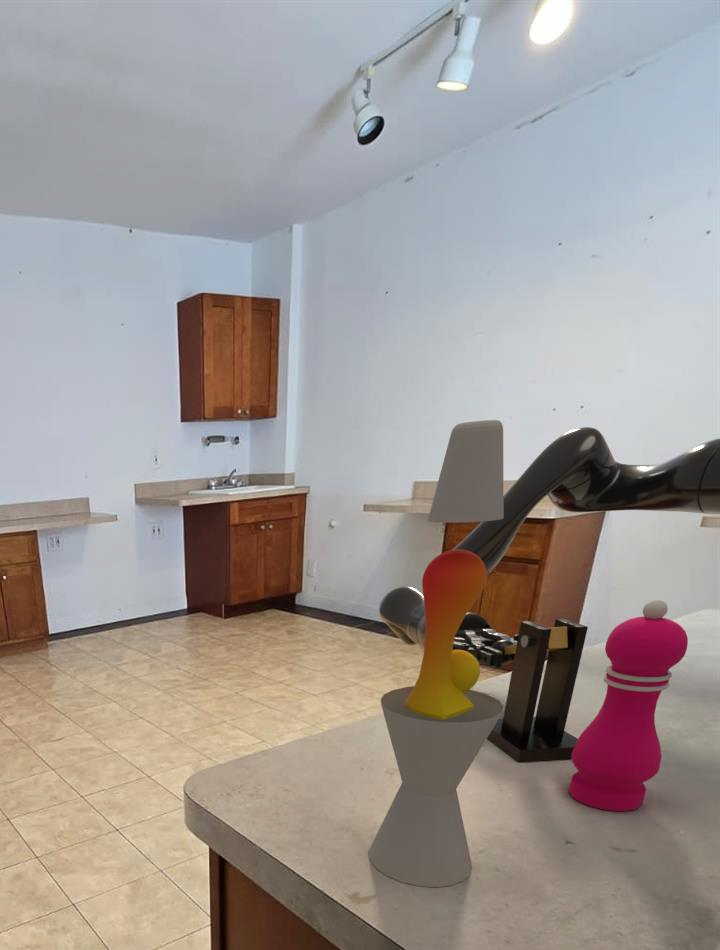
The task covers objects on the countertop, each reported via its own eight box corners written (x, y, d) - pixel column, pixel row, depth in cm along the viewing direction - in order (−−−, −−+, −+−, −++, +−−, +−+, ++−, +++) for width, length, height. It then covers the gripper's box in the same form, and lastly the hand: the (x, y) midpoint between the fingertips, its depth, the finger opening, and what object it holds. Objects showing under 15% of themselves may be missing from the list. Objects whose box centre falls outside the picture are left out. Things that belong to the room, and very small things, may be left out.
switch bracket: (476, 731, 83) (495, 617, 77) (538, 727, 83) (562, 612, 77) (518, 762, 74) (543, 636, 68) (587, 758, 74) (619, 631, 68)
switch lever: (484, 666, 85) (483, 642, 85) (508, 665, 85) (507, 641, 84) (544, 652, 72) (543, 624, 72) (573, 650, 72) (571, 622, 71)
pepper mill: (658, 818, 61) (725, 608, 53) (571, 809, 64) (621, 607, 55) (635, 785, 67) (691, 592, 59) (556, 778, 70) (599, 592, 61)
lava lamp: (430, 901, 52) (503, 415, 37) (345, 854, 59) (378, 429, 44) (496, 863, 56) (585, 412, 41) (408, 823, 63) (458, 426, 49)
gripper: (407, 611, 95) (463, 634, 79) (502, 606, 95) (576, 627, 79) (402, 661, 98) (455, 692, 82) (494, 655, 98) (564, 685, 82)
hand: (514, 660), depth 81 cm, fingers closed on switch lever, 3 cm apart
